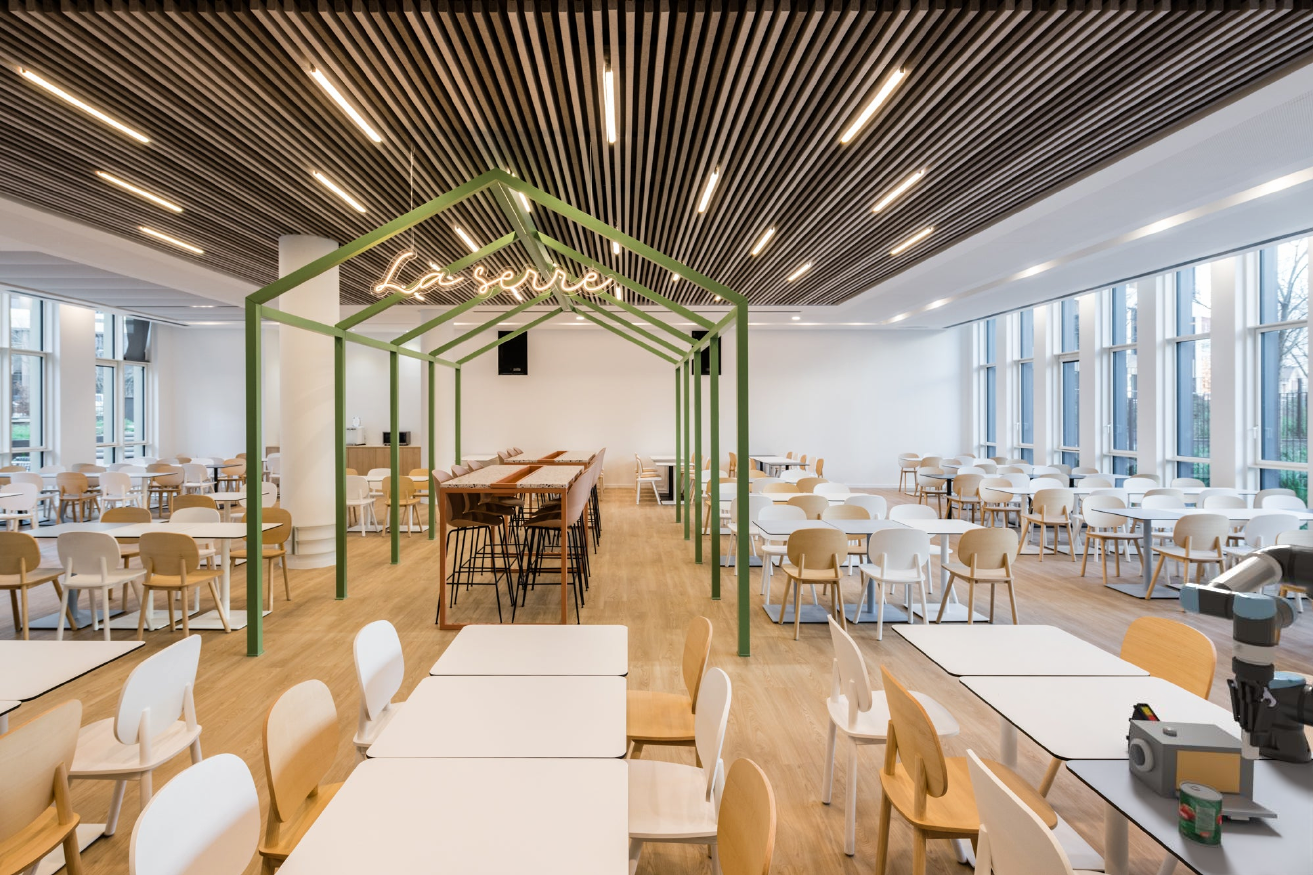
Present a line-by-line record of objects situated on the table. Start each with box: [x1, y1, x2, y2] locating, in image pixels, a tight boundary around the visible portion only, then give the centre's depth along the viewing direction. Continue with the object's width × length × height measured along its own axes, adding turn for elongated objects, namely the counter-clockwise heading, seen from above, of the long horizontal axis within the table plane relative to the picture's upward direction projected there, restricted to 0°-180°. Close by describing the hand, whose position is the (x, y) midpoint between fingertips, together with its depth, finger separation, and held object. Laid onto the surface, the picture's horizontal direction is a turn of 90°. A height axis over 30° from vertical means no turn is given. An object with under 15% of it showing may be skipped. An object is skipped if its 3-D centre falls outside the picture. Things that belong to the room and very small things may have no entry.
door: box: [1175, 791, 1278, 821], centre depth 167 cm, size 2×16×11 cm
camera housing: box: [1128, 720, 1255, 801], centre depth 180 cm, size 24×14×15 cm, turn 84°
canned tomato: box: [1177, 782, 1223, 848], centre depth 157 cm, size 8×8×11 cm
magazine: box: [1125, 702, 1162, 749], centre depth 194 cm, size 4×13×15 cm, turn 177°
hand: (1250, 757), depth 159 cm, fingers closed
